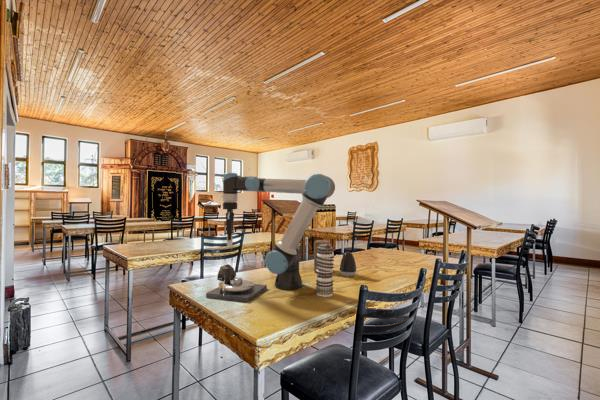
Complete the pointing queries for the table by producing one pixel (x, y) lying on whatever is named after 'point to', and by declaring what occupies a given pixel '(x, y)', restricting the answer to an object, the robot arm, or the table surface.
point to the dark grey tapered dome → (348, 265)
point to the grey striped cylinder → (317, 249)
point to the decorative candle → (324, 270)
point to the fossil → (221, 272)
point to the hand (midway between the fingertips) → (229, 246)
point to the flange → (235, 283)
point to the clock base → (236, 293)
